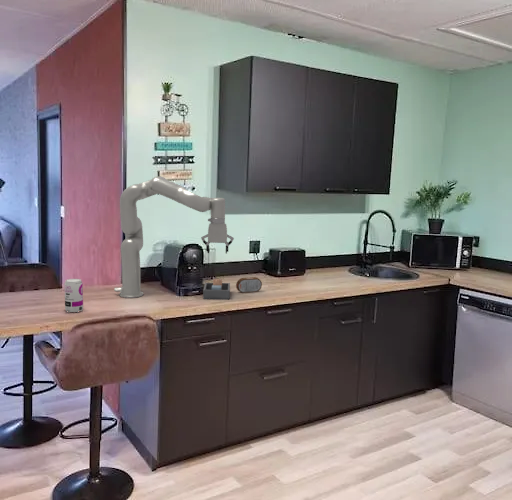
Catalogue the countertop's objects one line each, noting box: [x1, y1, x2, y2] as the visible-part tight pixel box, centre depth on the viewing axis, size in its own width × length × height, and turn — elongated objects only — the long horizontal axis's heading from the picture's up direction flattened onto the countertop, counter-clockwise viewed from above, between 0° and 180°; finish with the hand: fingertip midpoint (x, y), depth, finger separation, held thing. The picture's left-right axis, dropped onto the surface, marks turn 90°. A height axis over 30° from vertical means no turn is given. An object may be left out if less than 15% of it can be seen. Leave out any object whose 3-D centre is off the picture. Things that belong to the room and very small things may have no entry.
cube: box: [212, 285, 221, 290], centre depth 285 cm, size 5×5×5 cm
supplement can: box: [64, 278, 84, 313], centre depth 251 cm, size 8×8×15 cm
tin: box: [235, 276, 263, 294], centre depth 298 cm, size 15×3×8 cm, turn 113°
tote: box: [202, 282, 231, 301], centre depth 289 cm, size 14×18×5 cm
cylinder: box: [212, 278, 223, 290], centre depth 293 cm, size 5×5×7 cm
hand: (217, 253), depth 282 cm, fingers open, 9 cm apart
